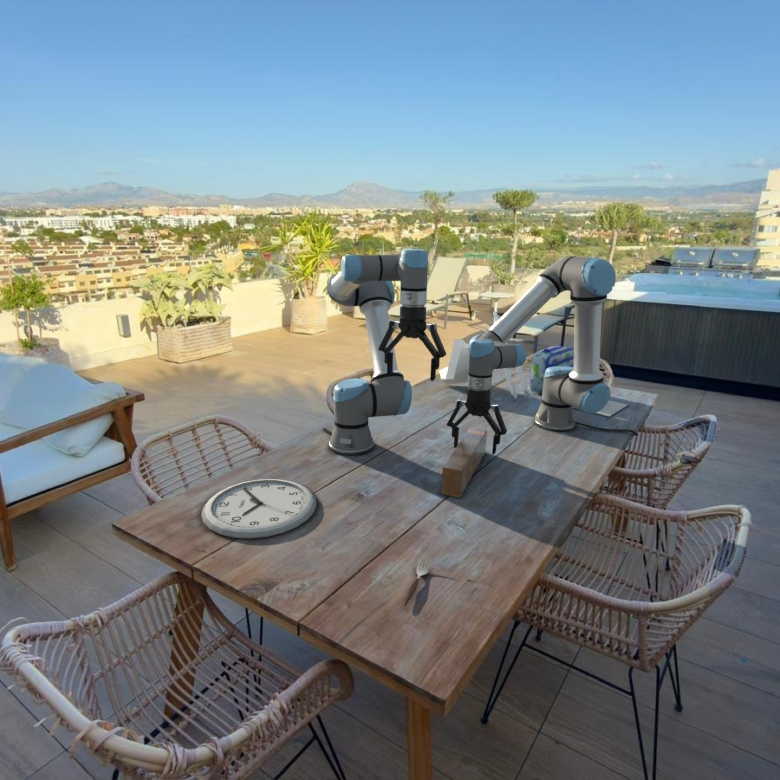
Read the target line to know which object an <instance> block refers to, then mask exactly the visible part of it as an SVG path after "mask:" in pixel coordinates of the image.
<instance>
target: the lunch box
mask: <svg viewBox="0 0 780 780" xmlns="http://www.w3.org/2000/svg"><path fill="white" fill-rule="evenodd" d="M556 366H567V367H574V347H567V346H561V345H553V346H549V347H547V348H543V349H541V350H538V351H537V352H535V353H534V355H533V357H532V359H531V366H530V379H529V391H531V392H532V393H537V394H542V391H543V380H544V374H545V370H546V369H547V368H549V367H556Z"/></svg>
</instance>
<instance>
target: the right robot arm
mask: <svg viewBox="0 0 780 780" xmlns="http://www.w3.org/2000/svg"><path fill="white" fill-rule="evenodd" d="M616 282H617V275H616V270H615V267H614V265H613V264H611V262H610V261H608V260H606V259H604V258H599V257H592V256H576V255H569V256H565V257H562V258H560V259H558V260H557V261H555V262H553V263H552V264H550V265H549V266H548V267H547V268H545V270H543V271H542V272H541V273H539V275H538V276H537V277H536V278H535V283H534V284H533V285H532V286H531V287H530V288H528V290H527V291H526V292H525V293H524V294H523V295H522V296H521V297H520V298H519V299H518V300H517V301H516V302H515V303H514V304H513V305H512V306H511V307H510V308H509V309H508V310H507V311H506V312H504V314H502V315H501V317H499V318H500V319H499V320H498V321H497V322H496V321H495V322H494V323H493V324H492V325H491V327H490V328H489V329H488V330H487V331H486V332H485V333H483V334H476V335H474V336H473V337H472V338H471V339H470V341H469V343H468V346H469V350H470V353H469V374H468V383H467V389H466V400H463V399H461V398H459V399H458V400H457V401H456V406H455V408H454V410H453V412H452V414H451V415H450V417H449V419H448V421H447V422H446V426H447V427H449V428H451V437H452V438H453V440H454V441H453V448H454V449H456V447H457V446H458V445H459V436H460V435H459V434H460V426H459V425H460V424H461V423H462V422H463V421H464V420H465V419H466V418H467V417H469V415H471V416H474V417H475V416H476V417H480V418H481V417H483V419H485V420H486V421H487V423H488V425H489V426H490V428H491V429H492V431H493V432H494V434H493V439H492V440H493V441H492V452H491V453H492V455H496V453H497V446H498V445H500V444H501V438H502V437H501V436H505V435H507V432H508V429H507V426H506V423H505V422H504V418H503V416H502V414H501V406H500V404H499V403H497V404H491V395H492V394H491V393H492V390H491V389H492V385H493V384H492V381H493V373H494V370H500V369H501V370H503V368H509V369H514V368H515V369H516V367H519V366H521V367H522V366H523V365H524V364H525V363H526V362H527V351H526V348H525V346H524V345H523V344H520V343H508V342H509V341H510V340H511V339H512V337H514V335H515V334H517V333H518V332H519V331H520V330H521V328H523V326H525V325H526V323H528V322H529V321H530V320H531V319H532V318H533V316H535V314H537V312H539V311H540V309H542V308H543V307H544V306H545V305H546V304H547V303H548V302H549V301H550V300H551V299H555V298H557V297H558V296H559V295H560V294H561V293H563V292H566V291H568V292H569V293H570V294H569V299H570V301H571V302H572V303H573V304H574V323H573V324H574V326H573V327H574V328H573V337H574V338H573V349H574V367H567V366H556V367H549V368H547V369H546V370H545V374H544V380H543V391H542V393H541V402H540V405H539V407H538V410H537V411H536V413H535V417H534V424H535V425H536V426H537V427H539V428H542V429H544V430H549V431H556V432H567V431H572V430H574V429H575V428H576V425H577V426H578V425H579V426H581V427H586V428H588V429H589V428H590V429H593V430H598V431H603V432H619V433H620V432H622V433H631V434H633V435H634V436H637V437H639V433H637V432H636V431H635V430H633V429H628V428H625V429H622V428H606V427H605V428H603V427H598V426H594V425H591V424H587V423H583V422H579V421H576V418H575V417H576V416H575V413H574V409H576V408H577V409H576V410H579V411H581V412H583V413H587V414H596V412H598V411H600V410H601V409H603V408H604V406H605V405H606V404H607V402H608V401H609V400H610V399H611V398H610V397H611V388H610V387H609V385H608V384H606V383H604V381H605V380H604V379H605V378H604V377H605V375H604V373H603V372H602V371H601V370H600V363H601V362H600V361H601V338H602V337H601V336H602V309H603V308H602V307H603V303H604V302H605V301H606V300H607V298H608V295H609V294H610V293H611V292H612V291H613V288H614V287H615V285H616ZM506 342H507V344H506ZM493 369H494V370H493ZM464 406H465V408H466V411H465V412H464V413H463V414H462V415H461V416H460V417H459V418H458V419H457V420H456V421H455V418H456V417H457V415H458V413H459V412H460V410H461V408H463V407H464ZM574 407H575V408H574ZM490 411H492V412H493V413H494V416H495V419H496V421H497V423H496V421H495V420H494V418H493V417H492V415H491V413H490ZM454 421H455V422H454Z"/></svg>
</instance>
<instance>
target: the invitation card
mask: <svg viewBox="0 0 780 780" xmlns="http://www.w3.org/2000/svg"><path fill="white" fill-rule="evenodd" d="M628 406H629V404H627V403H623V402H618V401H614V400H610V399H609V401H608V402H607V404H606V405H605V406H604V408H603V409H601V410H600V411H598V412H596V413H595V414H596V415H600V416H604V417H608V418H609V417H611V416H613V415H614V414H616V413H617V412H619V411H621V410H623V409H624V408H626V407H628ZM573 409H575V410H578V409H577V408H575V407H573Z"/></svg>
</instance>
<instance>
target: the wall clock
mask: <svg viewBox="0 0 780 780" xmlns="http://www.w3.org/2000/svg"><path fill="white" fill-rule="evenodd" d="M316 508H317V499H316V496H315V495H314V493H313V492H312V491H311V490H310V489H308V488H307V487H305V486H304V485H302V484H299V483H297V482H294V481H292V480H291V481H290V480H285V479H277V478H264V479H263V478H262V479H253V480H248V481H242V482H239V483H236V484H233V485H230V486H228V487H226V488H223V489H222V490H220V491H218V492H217V493H216V494H214V495H213V496H212V497H210V498H209V499H208V500H207V501H206V503H205V504H204V506H203V507H202V511H201V520H202V522H203V524H204V525H205V526H206V527H207V529H209V530H210V531H212V532H214V533H216V534H218V535H221V536H225V537H230V538H233V539H260V538H269V537H272V536H277V535H280V534H283V533H286V532H289V531H292V530H293V529H296V528H298V527H300V526H301V525H302V524H304V523H306V522H307V521H308V520H309V519H310V518H311V517H312V515H313V514H314V513H315V510H316Z"/></svg>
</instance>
